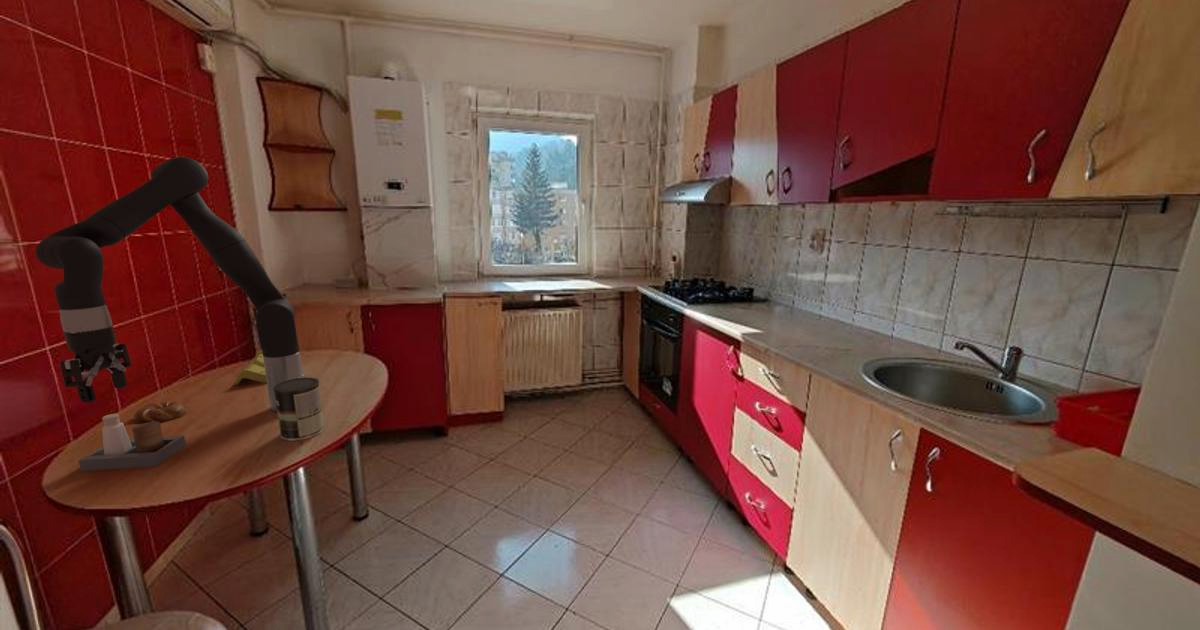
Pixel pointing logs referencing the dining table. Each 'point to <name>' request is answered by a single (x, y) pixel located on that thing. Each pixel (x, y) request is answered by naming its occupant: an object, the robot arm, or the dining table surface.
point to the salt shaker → (114, 435)
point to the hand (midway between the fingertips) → (105, 394)
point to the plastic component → (254, 370)
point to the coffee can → (299, 408)
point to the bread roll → (160, 412)
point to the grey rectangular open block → (132, 456)
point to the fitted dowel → (148, 437)
